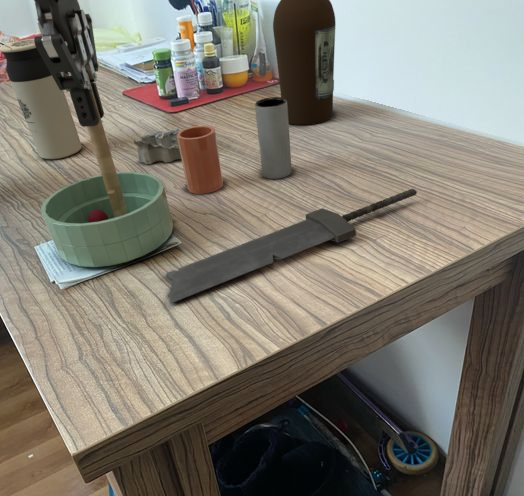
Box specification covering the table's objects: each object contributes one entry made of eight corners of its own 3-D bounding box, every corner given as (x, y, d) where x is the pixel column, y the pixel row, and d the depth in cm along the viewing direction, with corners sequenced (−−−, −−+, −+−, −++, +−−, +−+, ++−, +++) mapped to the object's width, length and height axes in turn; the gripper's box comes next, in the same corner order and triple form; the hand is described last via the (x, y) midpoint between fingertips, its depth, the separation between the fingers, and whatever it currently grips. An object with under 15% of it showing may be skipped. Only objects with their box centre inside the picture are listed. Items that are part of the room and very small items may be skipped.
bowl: (43, 276, 62) (23, 231, 58) (75, 218, 74) (60, 178, 70) (166, 263, 61) (154, 217, 58) (179, 207, 73) (170, 166, 69)
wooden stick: (114, 229, 67) (67, 79, 55) (119, 217, 69) (75, 71, 58) (128, 228, 67) (83, 77, 55) (132, 216, 69) (90, 69, 58)
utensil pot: (186, 195, 76) (174, 141, 70) (189, 181, 80) (178, 128, 75) (222, 191, 75) (213, 136, 70) (223, 177, 80) (215, 123, 74)
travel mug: (78, 141, 100) (43, 35, 88) (85, 153, 95) (49, 42, 83) (37, 151, 98) (-5, 44, 86) (42, 164, 93) (-2, 51, 81)
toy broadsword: (154, 283, 60) (149, 268, 58) (396, 190, 69) (396, 175, 68) (175, 313, 55) (170, 297, 53) (433, 208, 64) (434, 192, 63)
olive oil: (269, 124, 96) (255, -42, 80) (296, 106, 103) (287, -51, 86) (320, 128, 92) (316, -47, 75) (345, 110, 98) (345, -56, 82)
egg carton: (136, 166, 87) (129, 141, 84) (147, 149, 93) (141, 126, 90) (197, 161, 86) (192, 136, 83) (204, 145, 91) (200, 121, 89)
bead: (89, 234, 68) (83, 216, 67) (94, 225, 70) (87, 207, 69) (108, 232, 68) (102, 214, 67) (112, 223, 70) (106, 205, 68)
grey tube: (294, 167, 80) (289, 96, 73) (288, 179, 76) (283, 106, 70) (265, 167, 81) (258, 97, 74) (259, 179, 77) (251, 107, 71)
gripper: (21, -68, 54) (76, 107, 65) (-34, -61, 43) (43, 146, 55) (91, -77, 53) (134, 101, 65) (53, -72, 43) (112, 139, 54)
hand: (92, 121), depth 60 cm, fingers closed on wooden stick, 2 cm apart
